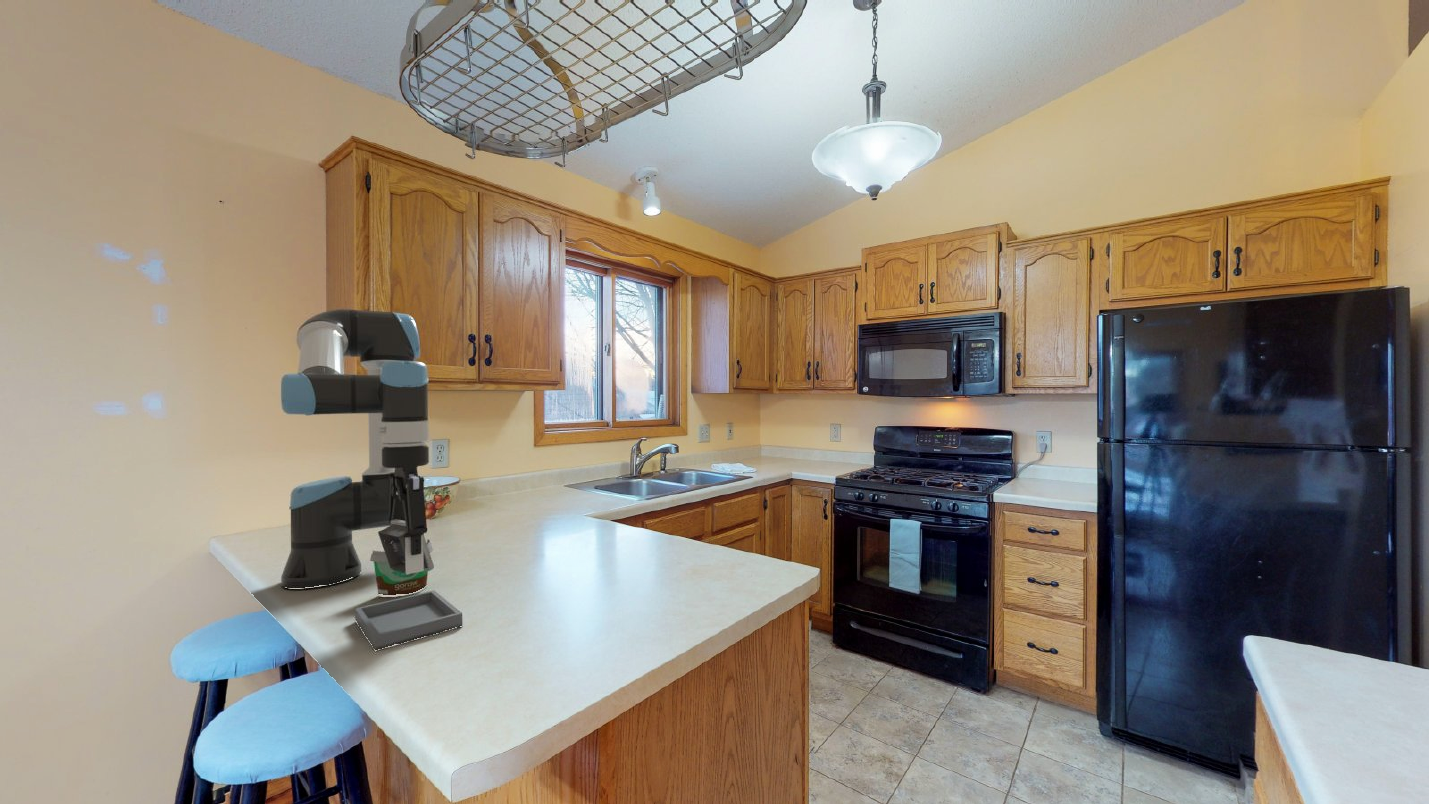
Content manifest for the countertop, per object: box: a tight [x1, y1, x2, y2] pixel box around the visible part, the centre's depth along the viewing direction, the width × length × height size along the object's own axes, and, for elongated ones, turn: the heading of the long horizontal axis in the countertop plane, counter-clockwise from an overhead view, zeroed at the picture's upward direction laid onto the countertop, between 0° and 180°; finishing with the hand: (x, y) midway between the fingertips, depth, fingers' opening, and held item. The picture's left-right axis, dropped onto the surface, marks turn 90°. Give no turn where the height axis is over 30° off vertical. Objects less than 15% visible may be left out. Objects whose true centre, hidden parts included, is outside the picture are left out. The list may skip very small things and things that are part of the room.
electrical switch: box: [377, 519, 435, 575], centre depth 97 cm, size 9×5×9 cm, turn 56°
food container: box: [369, 538, 434, 595], centre depth 115 cm, size 12×6×10 cm, turn 143°
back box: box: [354, 589, 463, 650], centre depth 98 cm, size 17×14×2 cm
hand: (407, 566), depth 98 cm, fingers closed on electrical switch, 9 cm apart
